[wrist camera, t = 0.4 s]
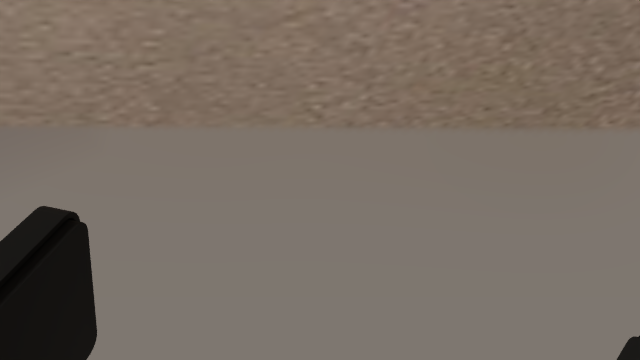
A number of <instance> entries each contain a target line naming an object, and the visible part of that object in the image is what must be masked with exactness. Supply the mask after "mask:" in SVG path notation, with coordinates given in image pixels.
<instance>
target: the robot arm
mask: <svg viewBox="0 0 640 360" xmlns="http://www.w3.org/2000/svg"><path fill="white" fill-rule="evenodd" d="M96 337H97V328H96V315H95V305H94V294H93V282H92V271H91V260H90V248H89V237H88V229H87V226H86V224H85V223H83V222H80V219H79V216H78V215H77V214H76V213H74V212H71V211H66V210H61V209H57V208H52V207H46V206H41V207H39V208H37V209H36V210H35V211H33V213H31V214H30V215H29V216H28V217H27V218H26V219H25V220H24V221H22V222H21V223H20V224H19V225H18V226H17V227H16V228H15V229H14V230H13V231H11V232H10V233H9V234H8V235H7V236H6V237H5V238H4V239H3V240H1V241H0V360H86V359H87V358H88V356H89V355H90V353H91V351H92V349H93V347H94V345H95V342H96ZM617 360H640V336H639V337H632V338H630V339H629V340H628V342H627V343H626V345H625V347H624V348H623V350H622V352H621V353H620V355H619V357H618V358H617Z"/></svg>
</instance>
